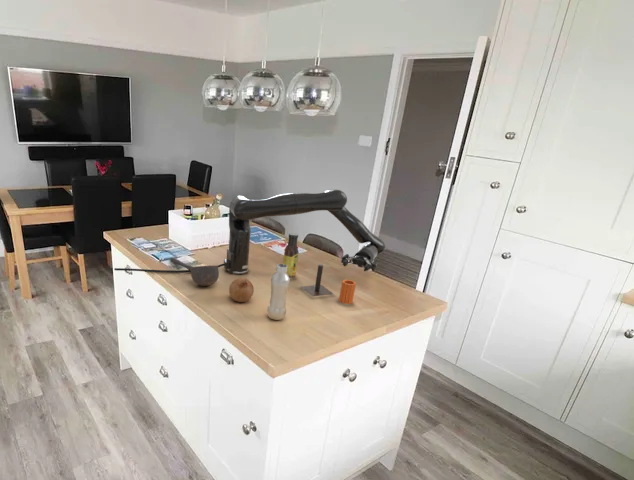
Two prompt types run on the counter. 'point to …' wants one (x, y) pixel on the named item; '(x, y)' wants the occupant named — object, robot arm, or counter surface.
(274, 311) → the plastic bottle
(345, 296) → the orange grooved tube
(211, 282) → the ladle
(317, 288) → the stand
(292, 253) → the sauce bottle
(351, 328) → the counter surface
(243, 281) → the onion
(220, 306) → the counter surface
